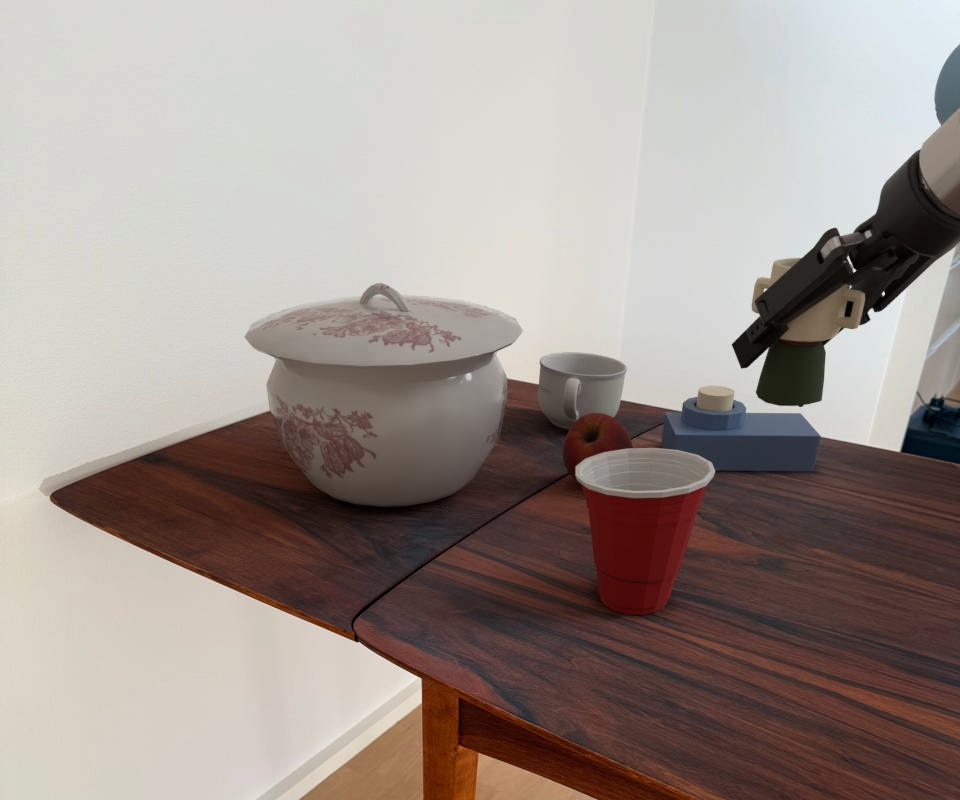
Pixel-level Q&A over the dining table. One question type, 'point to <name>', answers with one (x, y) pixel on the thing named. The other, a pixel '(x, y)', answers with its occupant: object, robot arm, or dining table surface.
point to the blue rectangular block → (742, 438)
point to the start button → (715, 398)
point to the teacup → (579, 386)
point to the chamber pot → (387, 392)
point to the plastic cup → (641, 521)
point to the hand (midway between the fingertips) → (770, 351)
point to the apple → (593, 439)
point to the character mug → (803, 344)
